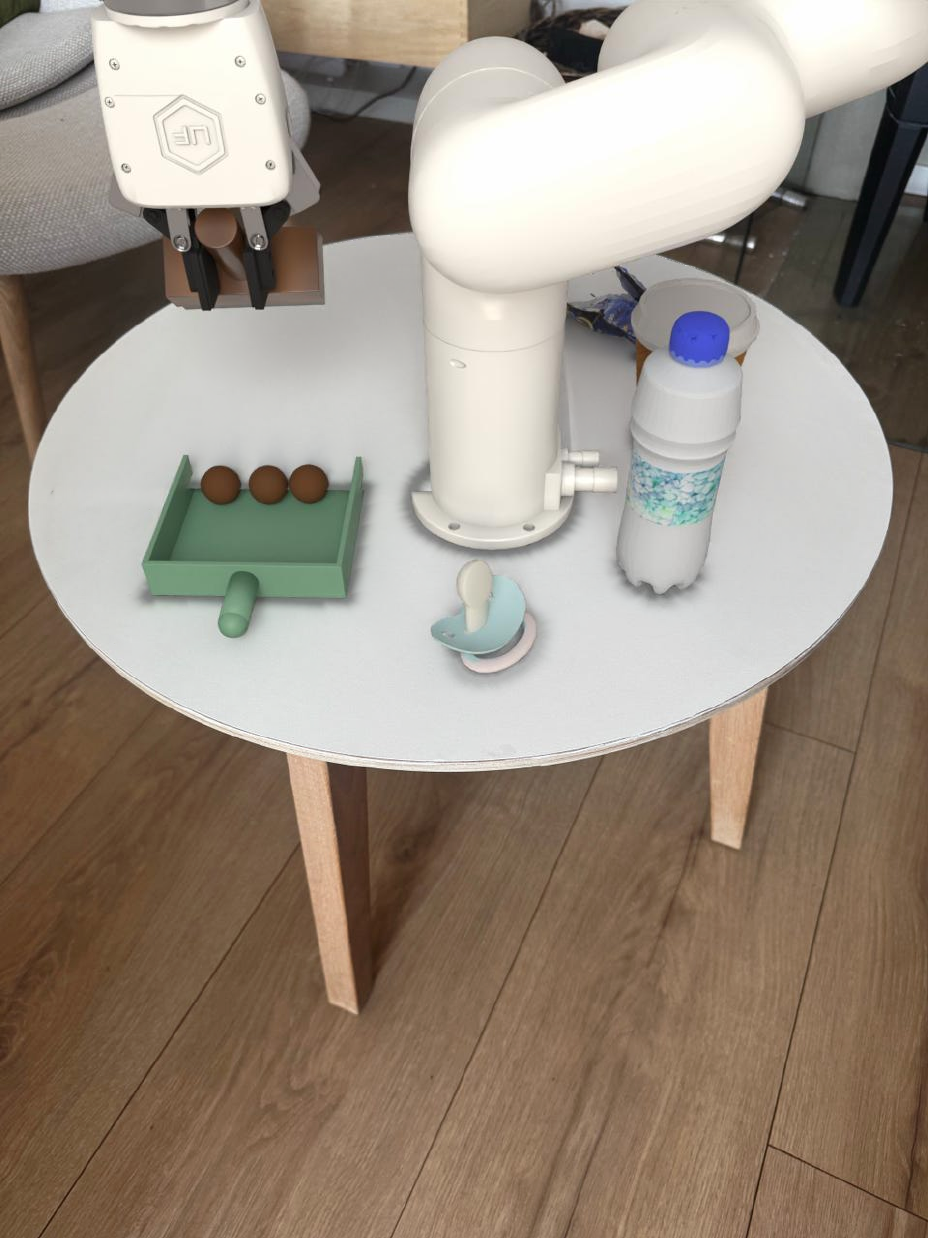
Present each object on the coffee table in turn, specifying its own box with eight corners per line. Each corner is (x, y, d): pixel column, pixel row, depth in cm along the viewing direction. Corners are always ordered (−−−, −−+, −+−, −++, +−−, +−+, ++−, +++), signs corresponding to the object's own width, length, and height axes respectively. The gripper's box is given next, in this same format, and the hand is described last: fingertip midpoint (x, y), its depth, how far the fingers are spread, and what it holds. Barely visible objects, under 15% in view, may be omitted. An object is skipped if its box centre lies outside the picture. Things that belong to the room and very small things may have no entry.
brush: (325, 244, 70) (299, 186, 60) (328, 307, 71) (302, 260, 60) (179, 250, 71) (128, 192, 60) (182, 312, 71) (131, 266, 60)
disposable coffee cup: (596, 448, 81) (609, 314, 73) (650, 393, 87) (668, 263, 78) (702, 489, 78) (730, 353, 69) (752, 429, 83) (783, 296, 74)
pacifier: (555, 628, 68) (484, 589, 70) (563, 561, 63) (486, 523, 65) (492, 695, 64) (419, 652, 66) (496, 629, 59) (417, 586, 61)
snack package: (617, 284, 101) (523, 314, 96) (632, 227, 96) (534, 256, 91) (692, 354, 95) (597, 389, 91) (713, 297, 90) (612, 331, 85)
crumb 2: (290, 490, 78) (297, 466, 76) (276, 517, 77) (283, 494, 74) (254, 475, 78) (260, 451, 76) (240, 502, 76) (245, 478, 74)
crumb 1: (250, 481, 78) (235, 455, 75) (242, 510, 76) (227, 484, 74) (214, 485, 78) (198, 459, 76) (206, 514, 77) (190, 488, 74)
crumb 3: (327, 486, 74) (314, 516, 76) (338, 468, 77) (325, 498, 78) (291, 468, 74) (278, 499, 76) (303, 450, 76) (290, 481, 78)
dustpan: (191, 486, 79) (183, 454, 76) (364, 488, 78) (361, 456, 76) (133, 649, 67) (120, 616, 64) (337, 652, 66) (331, 620, 64)
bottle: (701, 542, 73) (755, 290, 59) (708, 607, 69) (768, 350, 54) (610, 537, 74) (641, 286, 59) (610, 601, 69) (644, 345, 55)
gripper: (-5, -1, 49) (99, 332, 63) (319, -8, 49) (355, 327, 63) (39, -40, 55) (127, 275, 68) (332, -47, 54) (363, 270, 68)
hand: (236, 297), depth 65 cm, fingers closed on brush, 2 cm apart
